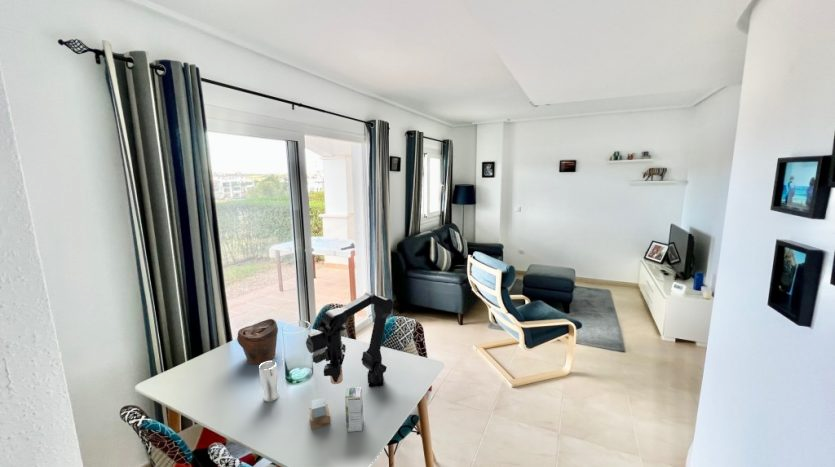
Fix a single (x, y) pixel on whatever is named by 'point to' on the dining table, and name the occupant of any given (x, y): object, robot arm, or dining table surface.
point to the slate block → (318, 407)
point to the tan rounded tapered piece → (338, 379)
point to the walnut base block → (320, 419)
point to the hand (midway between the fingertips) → (336, 378)
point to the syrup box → (354, 409)
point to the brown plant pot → (259, 341)
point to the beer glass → (269, 380)
